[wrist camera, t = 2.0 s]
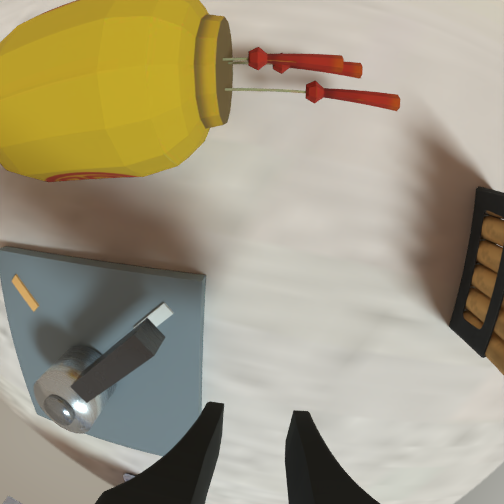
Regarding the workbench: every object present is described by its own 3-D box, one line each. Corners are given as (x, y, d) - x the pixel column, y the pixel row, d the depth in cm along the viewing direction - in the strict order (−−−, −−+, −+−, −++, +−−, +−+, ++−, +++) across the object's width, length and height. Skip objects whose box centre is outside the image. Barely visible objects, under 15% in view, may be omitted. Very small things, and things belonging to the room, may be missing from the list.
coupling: (96, 404, 23) (69, 444, 17) (55, 361, 22) (21, 397, 17) (196, 336, 20) (175, 385, 15) (143, 277, 19) (105, 313, 14)
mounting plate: (201, 454, 25) (198, 465, 24) (42, 407, 26) (36, 415, 24) (205, 275, 20) (201, 282, 19) (5, 246, 21) (-5, 250, 20)
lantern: (443, -35, 6) (-102, 83, 7) (429, 218, 10) (-87, 215, 12) (369, 15, 15) (-14, 66, 16) (362, 159, 19) (-6, 170, 21)
